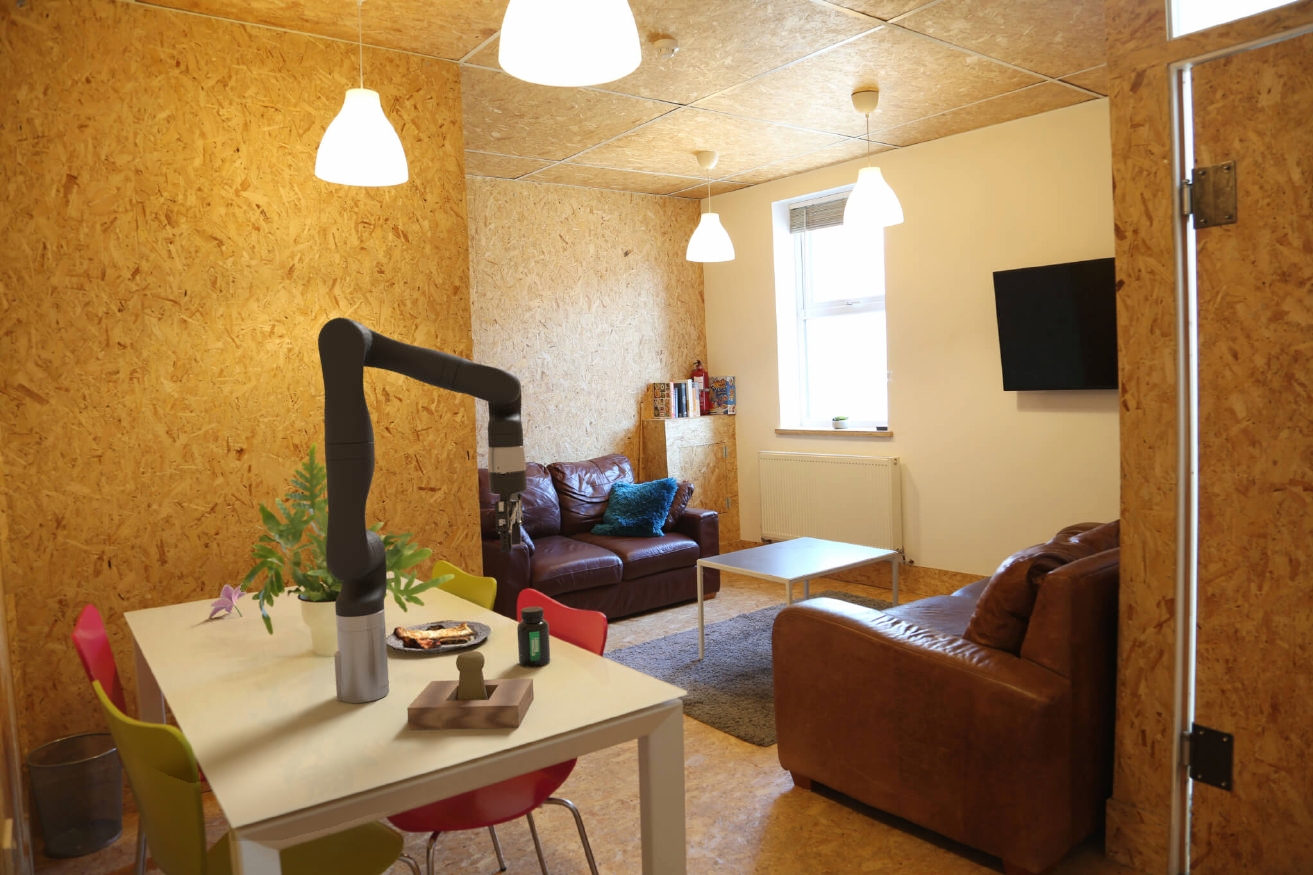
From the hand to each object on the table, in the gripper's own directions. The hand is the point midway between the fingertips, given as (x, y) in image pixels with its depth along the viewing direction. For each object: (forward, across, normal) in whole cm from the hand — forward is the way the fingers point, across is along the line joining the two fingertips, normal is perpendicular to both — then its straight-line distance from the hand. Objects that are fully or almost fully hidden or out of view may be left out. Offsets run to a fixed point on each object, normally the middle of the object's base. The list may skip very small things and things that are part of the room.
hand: (511, 547), depth 174 cm
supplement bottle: (+28, -13, +1) cm, 31 cm away
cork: (+28, +16, -5) cm, 32 cm away
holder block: (+28, +16, -5) cm, 33 cm away
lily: (+28, -61, -95) cm, 117 cm away
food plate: (+29, -31, -26) cm, 50 cm away
